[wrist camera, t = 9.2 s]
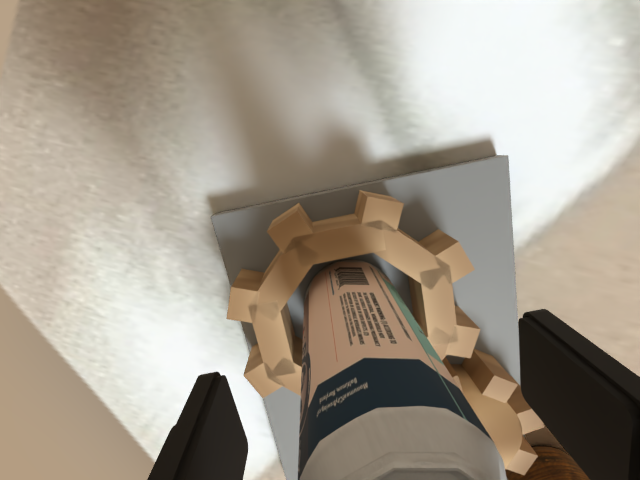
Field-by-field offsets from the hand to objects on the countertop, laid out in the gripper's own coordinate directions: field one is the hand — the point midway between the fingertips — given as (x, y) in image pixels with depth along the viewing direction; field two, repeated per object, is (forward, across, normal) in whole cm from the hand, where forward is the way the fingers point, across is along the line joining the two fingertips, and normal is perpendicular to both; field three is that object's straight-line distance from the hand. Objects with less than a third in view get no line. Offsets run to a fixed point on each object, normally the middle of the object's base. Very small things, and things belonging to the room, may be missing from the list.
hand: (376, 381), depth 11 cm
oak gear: (+8, 0, +1) cm, 8 cm away
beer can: (+8, 0, +1) cm, 8 cm away
